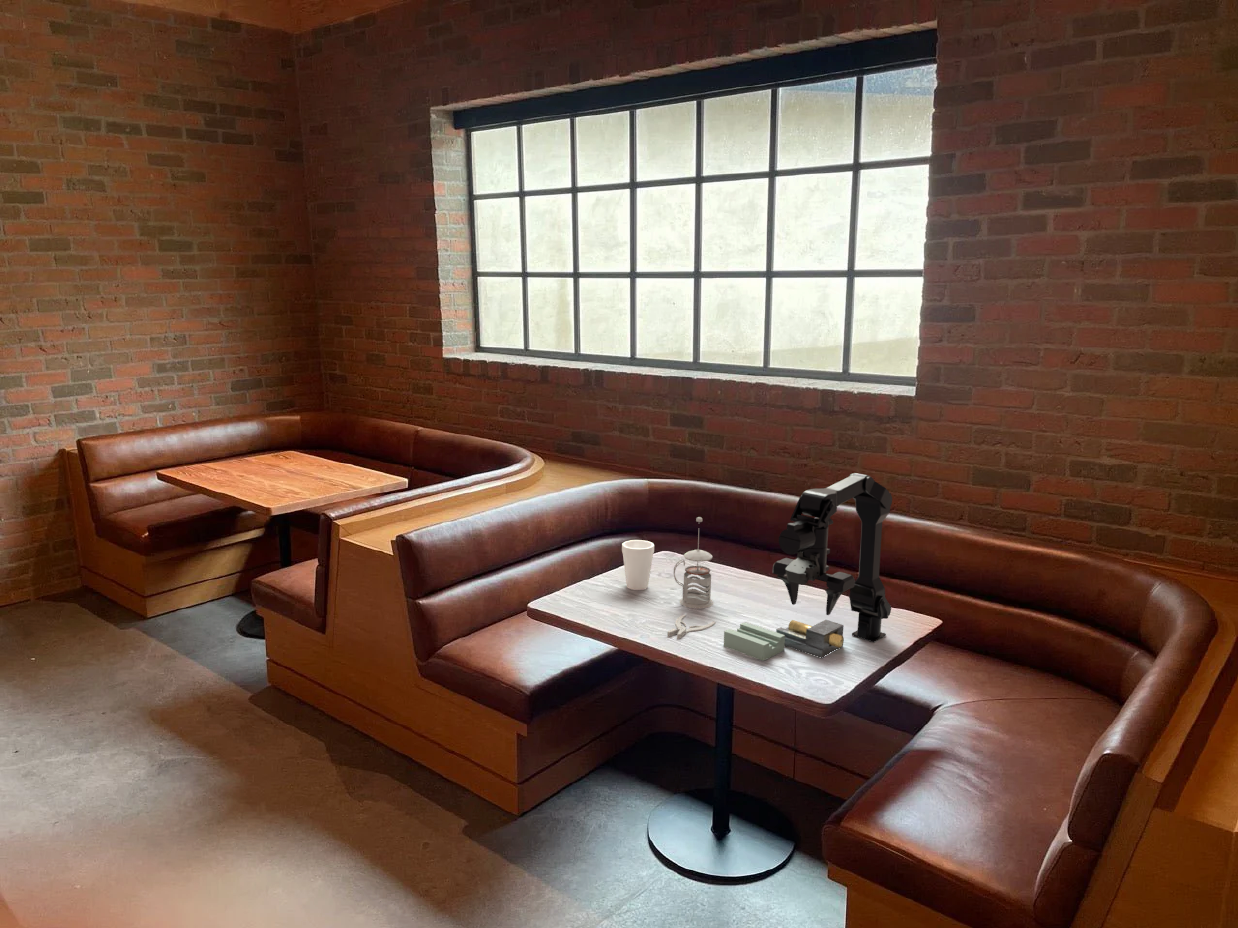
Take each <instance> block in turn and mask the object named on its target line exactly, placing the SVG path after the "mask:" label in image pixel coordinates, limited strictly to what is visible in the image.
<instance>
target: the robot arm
mask: <svg viewBox="0 0 1238 928" xmlns="http://www.w3.org/2000/svg"><path fill="white" fill-rule="evenodd" d="M852 499H853V500H854V502H855V503H854V504H855V512H856V514H857V516H858V518H859V519H860V521H861V528H860V529H861V530H860V531H861V532H860V550H859V565H858V567H859V568H858V576H857V578H856V579H855V577H854V576H853V574H849V573H845V572H843V571H837V572H835V573H833V574H830V573H827V572H828V571H830V566H829V565H827V558H828V557H827V555H829V554H831V549H830V548H828V541H829V539H828V537H829V526H830V525H833V524H834V521H833V520H832V519H831V517H832V516H833V515H835V513H837V512H838V507H839V506H840V505H842V504H844V503H846V502H848V501H850V500H852ZM892 504H893V497H892V493H891V492H890V491H889V490H888V489H887V487H884V486H883V485H881V484H880V483H878V482H877V481H876V480H875V479H874V478H873V477H872V476H871V475H868V474H865V473H864V474H863V473H857V472H854V473H851V474H849V476H848V477H846V478H844V479H842V480H840V481H837V482H835V483H834V484H832V485H830V486H827V487H825V488H824V487H823V488H810V489H807V490H805V491H803V492H802V494H801V495H800V497H799V498H798V501H797V503H796V505H795V507H794V510H793V511H792V514H791V517H790V519H789V520H790V521H791V522H788V523H787V524H786V528H785V529H783V530H782V531H781V532H780V533H779V536H778V544H779V547H780V549H781V550H782V551H783V552H784V553H785V554H787V555H790V556H791V555H796V554H797V555H796V558H795V559H793V558H788V557H785V558H782V559H779V560H777V561H775V562H774V563H773V565H772V574H773V575H776V576H777V579H780V580H781V581H782V582H783V583H784V585H785V587H786V590H787V593H788V595H789V600H790V602H791V604H792V605H793V606H794V605H796V604H797V600H798V596H799V595H798V594H799V587H800V586H805V585H806V584H808V582H809V581H811V582H814V581H815V580H818V581H821V582H824V583H826V587H827V588H826V589H825V590H824V591H825V592H826V595H827V597H826V606H825V615H826V616H830V615H831V613H832V611H833V610H834V607H835V606H836V604H837V602H838V600H839V598H840V597H841V596H842V594H843V593H844V592H846V591H848V590H849V597H848V598H849V603H850V610H851V611H852V612H855V613H858V620H857V630H855V631H853V632H852V633H851V636H853V635H854V636H853V637H856V638H859V639H862V640H866V641H869V642H871V643H876V642H877V641H879V640H880V639H883V638H885V637H886V636H887V633H885V632H882V631H881V629H882V622H883V621H882V620H883V619H887V620H888V619H889V616H890V615H891V613H892V606H891V604H890V603H889V601H888V600H887V598H886V588H885V586H884V584H883V582H882V580H881V578H880V568H881V565H880V564H881V551H882V549H881V548H882V533H883V532H882V531H883V522H884V521H885V519H886V518H887V516H889V514H890V511H891V506H892Z"/></svg>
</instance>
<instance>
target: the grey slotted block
mask: <svg viewBox="0 0 1238 928" xmlns="http://www.w3.org/2000/svg"><path fill="white" fill-rule="evenodd" d="M811 626H812V627H810V628H808V629H806V635H803V634H800V633H797V632H794V631H791V630H789V629H788V627H785V628H784V627H782V626H781V627H779V628H777V629H776V631H775V632H777V633H780V634H783V635H785V645H784V647H788V648H791V649H793V650H796V649H797V650H796V651H799V650H800V652H802V651H803V652H802V653H805V652H806V653H805V654H807V653H809V654H808V655H810V654H812V655H811V656H813V655H815V656H814V657H816V656H818V657H817V658H819V657H821V658H820V659H823V658H825V657H826V656H825V655H827V654H829V653H830V652H832V651H834V650H836V649H838V650H840V649H842V648H844V644H843V645H842V646H841V647H842V648H841V647H840V649H839V648H838V647H835V646H832V645H829V639H830V634H832V633H835V634H838V635H842V636H843V637H844V628H845V627H844V624H842V623H838V622H835V621H831V620H828V619H825V620H822V621H820V622H818V623H816V624H814V625H811ZM836 651H837V650H836ZM834 652H835V651H834ZM829 655H830V654H829ZM824 656H825V657H824ZM827 656H828V655H827ZM822 657H823V658H822Z"/></svg>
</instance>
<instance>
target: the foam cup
mask: <svg viewBox="0 0 1238 928" xmlns="http://www.w3.org/2000/svg"><path fill="white" fill-rule="evenodd" d="M621 552H622V556H623V566H624V575H625V582H626V588H628V589H629V590H632V591H633V590H634V591H643V590H647V589H648V588H649V582H650V576H651V571H652V565H653V564H652V563H653V558H654V553H655V544H654V542H651V541H648V540H644V539H643V540H642V539H631V540H626V541H624V542H623V543H621Z"/></svg>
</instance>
